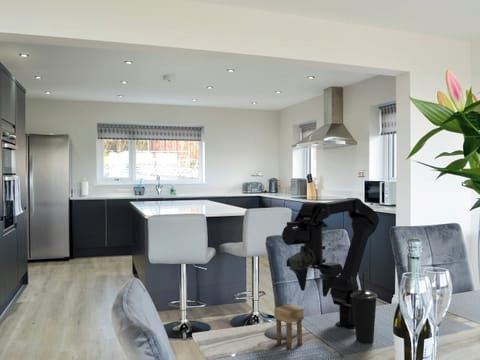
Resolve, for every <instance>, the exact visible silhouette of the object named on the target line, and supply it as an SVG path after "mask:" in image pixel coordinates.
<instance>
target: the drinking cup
mask: <svg viewBox="0 0 480 360" xmlns="http://www.w3.org/2000/svg"><path fill="white" fill-rule="evenodd" d="M365 274H366V273H365V272H362V273H361V275H362V277H361V279H362V280H361V281H362V284H361V285H362V289H359V290H357V291H355V292H352V293H351V297H352V305H353V314H354V323H355V328H354V330H355V339H356V342H358V343H360V344H366V345H367V344H373V343H374V337H375V324H376V323H375V321H376V310H377V299H378V294H377V293H375V292H373V291H371V290H367V289H366V284H365V283H366V276H365Z"/></svg>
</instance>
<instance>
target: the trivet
mask: <svg viewBox="0 0 480 360" xmlns="http://www.w3.org/2000/svg"><path fill="white" fill-rule="evenodd" d="M264 334H265V336H266V335H267V337H268V338H270V339H275V340H277V328H276V325H275V326H271V327H268V328H266V329H265V330H264ZM293 338H297V328H294V327H292V339H293ZM281 339H282V340H287V339H286V325H285V326H283V325H281Z"/></svg>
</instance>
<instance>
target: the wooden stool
mask: <svg viewBox="0 0 480 360" xmlns="http://www.w3.org/2000/svg"><path fill="white" fill-rule="evenodd" d="M273 311H274V312H273V313H274V316H273V318H274V319H275V320H276V321H275V323H276V325H275V326H276V328H277V339H276V346H277V345H278V346H282V345H283V344H282V343H283V342H282V341H283V339H281V326H282V322H284V323H285V326H286V339H285V340H286V350H292V348H293V347H292V345H293V344H292V342H293V338H292V328H293V327H292V326H293V324H292V323H295V322H296V330H297V336H296V341H297V342H296V343H297V346H298V347H302V346H303V323H302V321H303V320H304V314H305V313H304V312H305V311H304V308H303V307H298V306H296V305H293V304H285V305H282V306H278V307H277V306H276V307H274V309H273Z"/></svg>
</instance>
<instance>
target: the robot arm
mask: <svg viewBox="0 0 480 360" xmlns="http://www.w3.org/2000/svg"><path fill="white" fill-rule="evenodd" d="M345 212H346V213H347V216H348V217H349V219H350V220H351V228H352V229H351V230H352V232H353V233H352V237H351V241H350V245H349V248H348V250H347V254H346V257H345V260H344V264H343V266H342V264H341V263H336V262H332V261H331V262H326V259H325V258H324V257H323V256H324V254H323V253H324V250H326V245H323V243H324V242H323V239H324V238H323V229H325V228H328V224H327V223H325V222H324V220H327V219H328V218H329V217H330V216H331V215H336V214H341V213H345ZM379 222H380V217H379V215H378V214H377V212H376V211H375V210H374V209H373V208H372V207H370V206H368V205H367V204H365V203H364V202H363V201H362V200H361V198H357V197H347V198H345V199H338V200H333V201H328V202H317V201H312V202H311V201H305V202H302V205H301V207H300V209H299V211H298V213H297V215H296V217H295V219H294V221H287V222H286V226H284V228H283V231H282V232H281V238H282V241H283V243H284V244H285V245H287V246H294V245H295V246H296V245H300V248H299V249H300V251H299V252H296V253H295V254H293V255H292V256H289V257H288V258H287V259H286V267H288V268H289V270H290V271H291V272H293V273H294V274H295V277H296V279H297V282H298V285H299V288H300V291H305V289H306V285H307V278H308V272H309V271H308V270H309V269H314V270H319V272H320V274H319V275H318V276H319V277H320V278H321V285H322V286H321V287H322V290H321V291H322V296H323V298H324V297H327V295H328V294H329V293H330V296H331V299H332V302H333V305H337V306H338V307H339V308H338V309H339V311H338V312H339V313H338V315H339V319H338V321H337V322H335V326H339V327H342V328H343V327H344V328H346V329H353V330H355V323H354V314H353V305H352V297H351V293H352V292H355V291H357V290H360V289H359V288H360V287H359V284H358V279H357V278H358V275H359V271H360V268H361V263H362V261H363V257H364V254H365V253H364V252H365V251H366V247H367V244H368V239H369V238H370V237H371V236H372V235H373V234H374V233H375V232H376V229H377V228H378V225H379ZM329 291H330V292H329Z"/></svg>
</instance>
